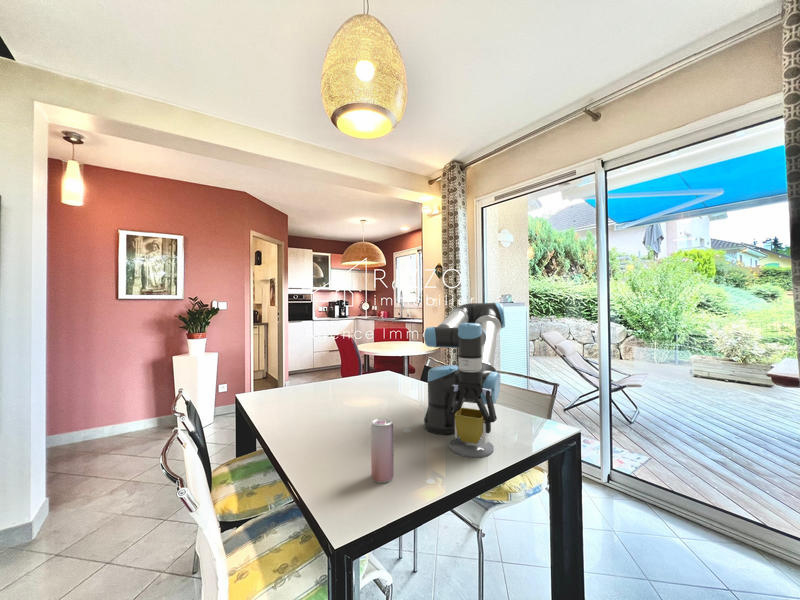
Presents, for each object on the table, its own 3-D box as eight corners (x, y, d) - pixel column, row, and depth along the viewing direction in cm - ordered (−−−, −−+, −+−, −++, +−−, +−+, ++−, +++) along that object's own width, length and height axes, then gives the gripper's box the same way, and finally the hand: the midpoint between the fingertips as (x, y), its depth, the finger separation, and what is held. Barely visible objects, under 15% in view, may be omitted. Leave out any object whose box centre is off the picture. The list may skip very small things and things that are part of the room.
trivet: (442, 450, 103) (442, 448, 103) (460, 436, 115) (460, 434, 115) (485, 461, 96) (485, 459, 96) (499, 445, 107) (499, 442, 107)
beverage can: (371, 473, 89) (371, 418, 90) (392, 471, 90) (392, 417, 90) (371, 484, 84) (371, 426, 84) (394, 483, 84) (393, 425, 85)
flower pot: (487, 437, 107) (486, 410, 108) (482, 447, 99) (481, 418, 100) (461, 433, 111) (460, 407, 111) (454, 443, 103) (454, 414, 103)
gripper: (435, 368, 109) (436, 436, 108) (499, 375, 97) (501, 451, 96) (445, 365, 115) (446, 429, 115) (506, 371, 103) (508, 442, 102)
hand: (471, 439), depth 105 cm, fingers closed on flower pot, 9 cm apart
